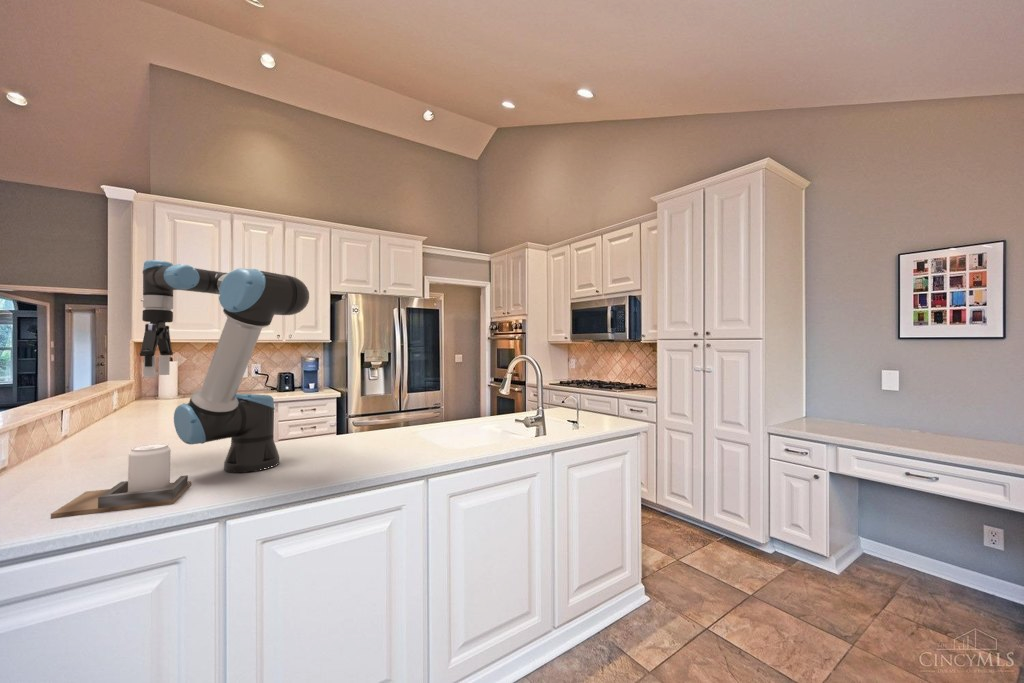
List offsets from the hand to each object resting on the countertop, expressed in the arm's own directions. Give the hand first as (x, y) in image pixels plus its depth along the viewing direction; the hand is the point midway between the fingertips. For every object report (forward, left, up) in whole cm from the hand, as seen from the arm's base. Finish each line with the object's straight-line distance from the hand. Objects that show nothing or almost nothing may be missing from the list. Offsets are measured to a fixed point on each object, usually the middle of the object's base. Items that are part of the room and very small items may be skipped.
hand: (157, 376), depth 136 cm
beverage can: (-8, +35, -28) cm, 45 cm away
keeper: (-4, +34, -29) cm, 45 cm away
